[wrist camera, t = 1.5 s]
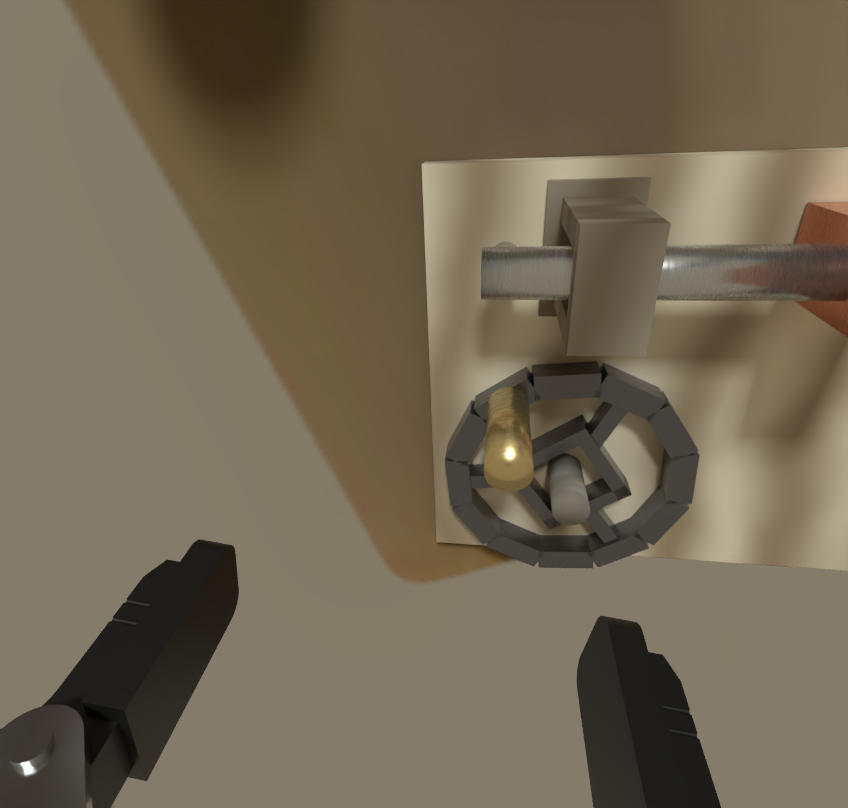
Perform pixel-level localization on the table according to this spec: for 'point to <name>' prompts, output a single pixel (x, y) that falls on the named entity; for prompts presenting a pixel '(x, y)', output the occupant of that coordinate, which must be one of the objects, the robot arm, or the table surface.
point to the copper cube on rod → (705, 269)
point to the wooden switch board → (650, 343)
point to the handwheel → (518, 455)
